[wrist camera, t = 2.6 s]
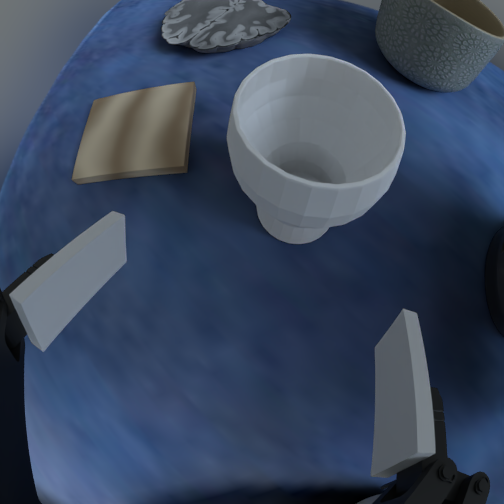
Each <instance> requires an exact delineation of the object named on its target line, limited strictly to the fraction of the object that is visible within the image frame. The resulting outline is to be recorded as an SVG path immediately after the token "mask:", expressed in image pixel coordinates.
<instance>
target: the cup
mask: <svg viewBox="0 0 504 504" xmlns="http://www.w3.org/2000/svg"><path fill="white" fill-rule="evenodd" d="M405 135H406V131H405V126H404V122H403V117H402V113H401V111H400V109H399V108H398V106H397V104H396V102H395V100H394V98H393V97H392V96H391V94H390V93H389V92H388V91H387V90H386V88H385V87H384V86H383V85H382V84H381V83H380V82H379V81H377V80H376V79H375V78H374V77H372V76H371V75H370V74H369V73H367V72H366V71H364V70H362V69H360V68H358V67H357V66H355V65H353V64H351V63H349V62H346V61H343V60H340V59H337V58H333V57H330V56H324V55H316V54H295V55H287V56H283V57H280V58H276V59H272V60H270V61H268V62H266V63H264V64H263V65H261V66H259V67H257V68H256V69H254V70H253V71H252V72H251V73H250V74H249V75H248V76H247V77H246V78H245V79H244V80H243V81H242V83H241V85H240V87H239V88H238V90H237V92H236V94H235V96H234V100H233V105H232V109H231V114H230V119H229V125H228V131H227V143H228V149H229V154H230V159H231V164H232V168H233V173H234V175H235V177H236V178H237V180H238V182H239V184H240V186H241V188H242V190H243V191H244V192H245V194H246V195H247V196H248V197H249V198H250V199H251V200H252V201H253V202H254V203H255V204H256V209H257V214H258V218H259V220H260V222H261V224H262V226H263V227H264V228H265V229H266V230H267V231H268V232H269V234H271V235H272V236H274V237H275V238H277V239H278V240H280V241H283V242H286V243H290V244H304V243H309V242H312V241H314V240H316V239H318V238H320V237H321V236H322V235H323V234H324V233H326V232H327V230H328V229H329V227H333V226H339V225H344V224H346V223H348V222H350V221H352V220H354V219H356V218H358V217H360V216H362V215H363V214H364V213H366V212H367V211H368V210H369V209H370V208H371V207H372V206H373V205H374V204H375V203H376V202H377V201H378V200H379V199H380V198H381V197H382V196H383V195H384V194H385V193H386V192H387V191H388V189H389V187H390V185H391V183H392V181H393V179H394V177H395V175H396V173H397V170H398V167H399V164H400V161H401V157H402V154H403V151H404V145H405Z"/></svg>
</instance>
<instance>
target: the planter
mask: <svg viewBox="0 0 504 504" xmlns="http://www.w3.org/2000/svg"><path fill="white" fill-rule="evenodd" d="M375 35H376V40H377V43H378V46H379V48H380V50H381V52H382V53H383V55H384V56H385V58H386V59H387V60H388V62H389V63H390V64H391V65H392V66H393V67H394V68H395V69H396V70H397V71H398V72H399V73H401V74H402V75H403V76H404V77H406V78H407V79H409V80H410V81H412V82H414V83H416V84H418V85H420V86H422V87H424V88H427V89H430V90H434V91H438V92H456V91H459V90H462V89H464V88H466V87H467V86H468V85H469V84H470V83H471V82H472V81H473V80H474V79H475V78H476V77H477V76H478V75H479V73H480V72H481V71H482V70H483V69H484V67H485V66H486V65H487V64H488V63H489V61H490V60H491V59H492V58H493V56H494V55H495V54H496V53H497V52H498V50H499V49H500V48H501V46H502V45H503V44H504V26H503V24H502V23H501V21H500V20H499V19H498V18H497V16H496V15H494V13H493V12H492V11H491V10H490V9H489V8H488V7H487V6H486V5H485V4H483V3H482V2H481V1H480V0H382V1H381V5H380V9H379V12H378V16H377V21H376V27H375Z"/></svg>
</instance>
